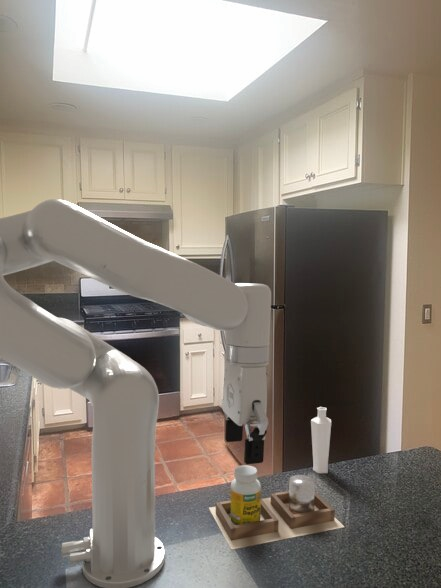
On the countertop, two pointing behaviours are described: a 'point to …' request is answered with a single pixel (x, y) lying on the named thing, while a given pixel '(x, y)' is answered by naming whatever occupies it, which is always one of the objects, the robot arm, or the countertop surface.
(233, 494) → the supplement bottle
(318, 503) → the socket board
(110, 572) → the robot arm
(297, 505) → the silver cylinder
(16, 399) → the countertop surface
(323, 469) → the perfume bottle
